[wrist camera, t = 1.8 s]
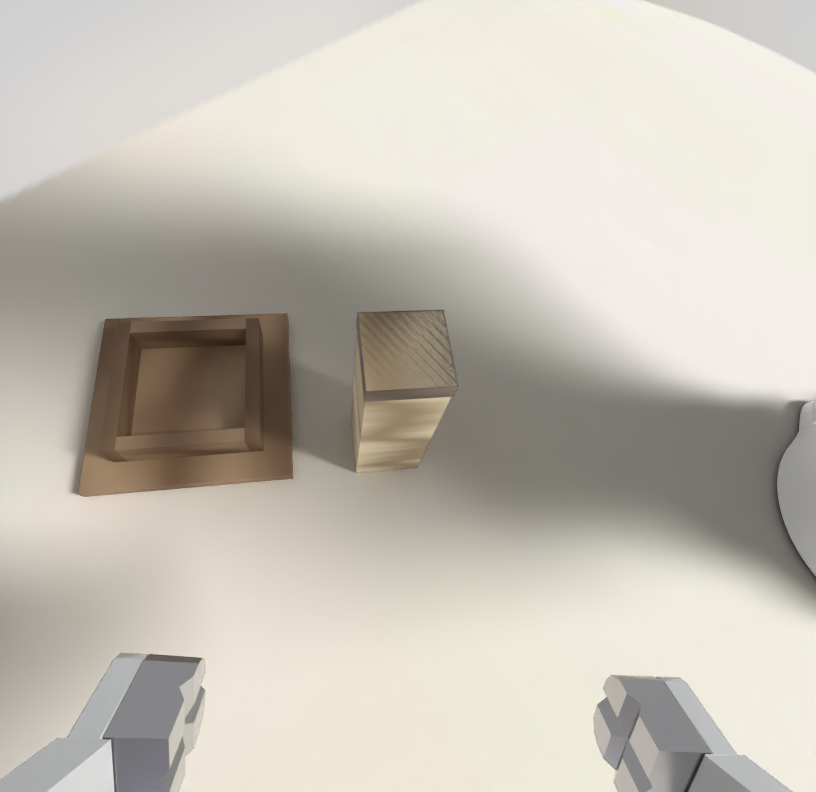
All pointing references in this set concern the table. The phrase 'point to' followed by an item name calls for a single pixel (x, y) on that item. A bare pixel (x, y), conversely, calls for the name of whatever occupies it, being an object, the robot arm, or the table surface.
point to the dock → (189, 404)
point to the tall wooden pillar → (399, 386)
